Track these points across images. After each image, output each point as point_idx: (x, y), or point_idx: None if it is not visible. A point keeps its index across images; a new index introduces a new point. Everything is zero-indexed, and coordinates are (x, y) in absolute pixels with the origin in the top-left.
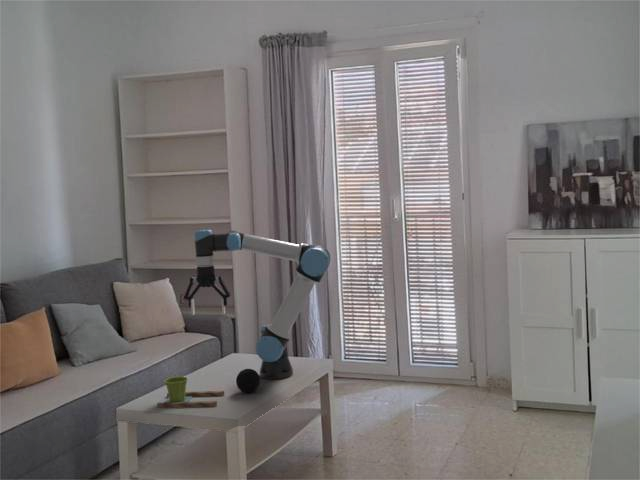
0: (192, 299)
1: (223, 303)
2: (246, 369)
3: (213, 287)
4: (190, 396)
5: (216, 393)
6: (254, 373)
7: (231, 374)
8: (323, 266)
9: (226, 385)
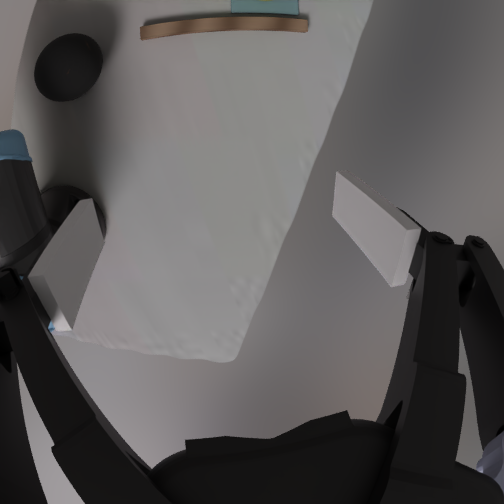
0: (403, 277)
1: (46, 249)
2: (54, 63)
3: (88, 421)
4: (236, 12)
5: (160, 24)
6: (36, 63)
7: (185, 224)
8: None
9: (162, 121)
